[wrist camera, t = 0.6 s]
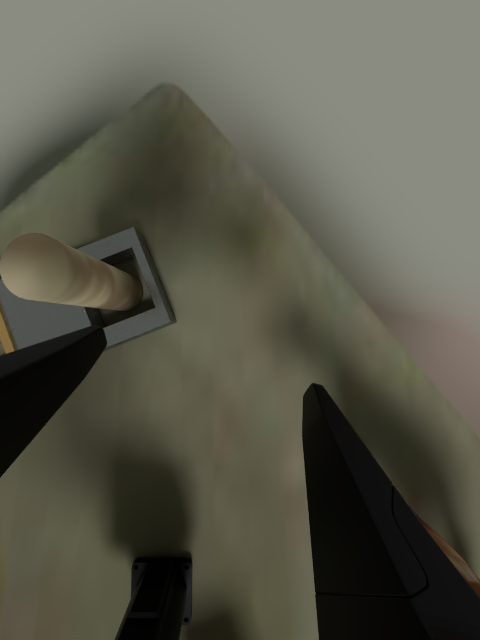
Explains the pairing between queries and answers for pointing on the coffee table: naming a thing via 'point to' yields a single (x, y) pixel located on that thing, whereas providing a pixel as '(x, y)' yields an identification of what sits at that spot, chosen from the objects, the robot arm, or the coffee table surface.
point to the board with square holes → (59, 319)
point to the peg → (65, 275)
